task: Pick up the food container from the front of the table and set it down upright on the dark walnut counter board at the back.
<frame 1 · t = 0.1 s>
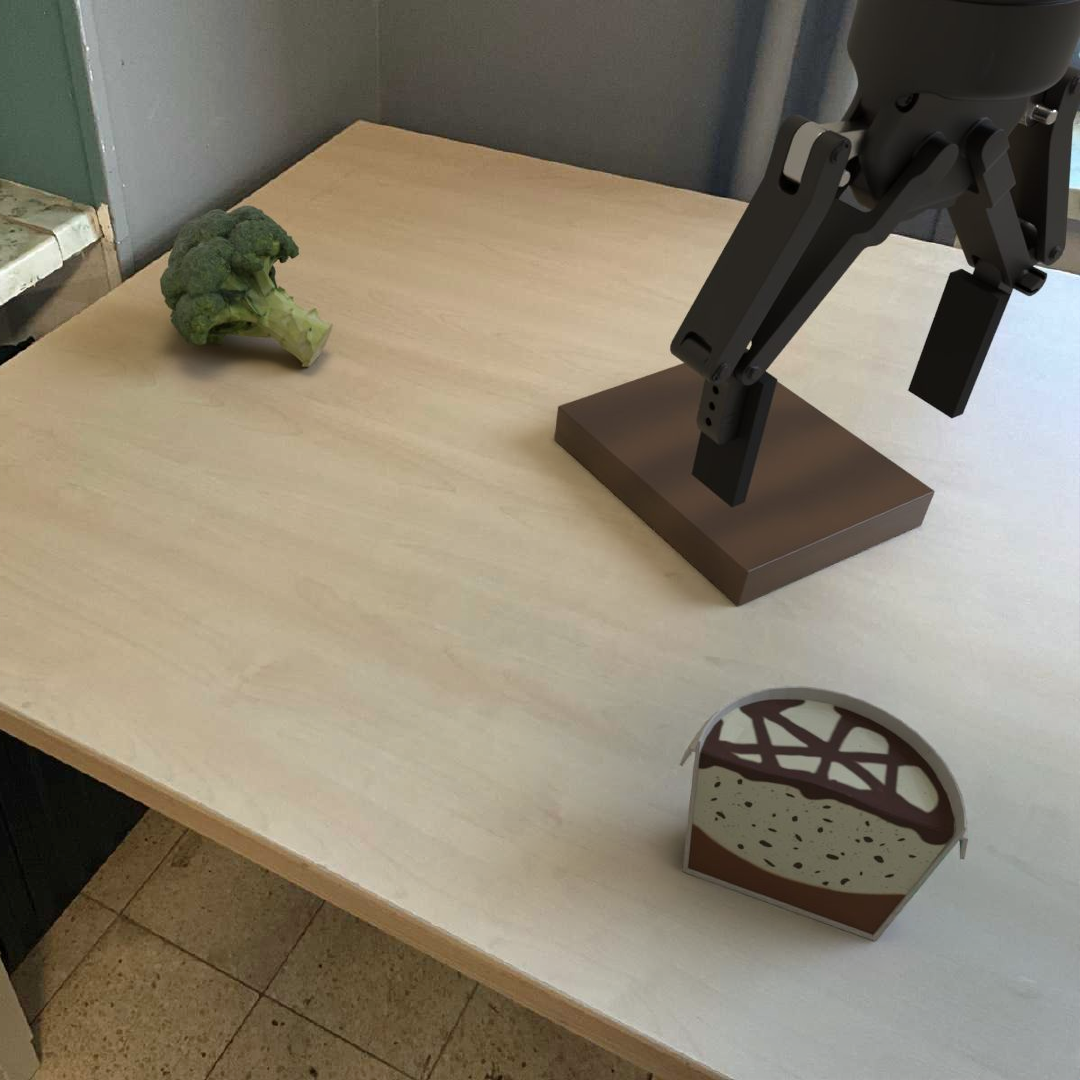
hand: (830, 444, 54), 19 cm above the table, tool pointing down, fingers open, 13 cm apart
food container: (786, 858, 59), on the table
counter board: (728, 480, 82), on the table
vegetable: (254, 345, 97), on the table
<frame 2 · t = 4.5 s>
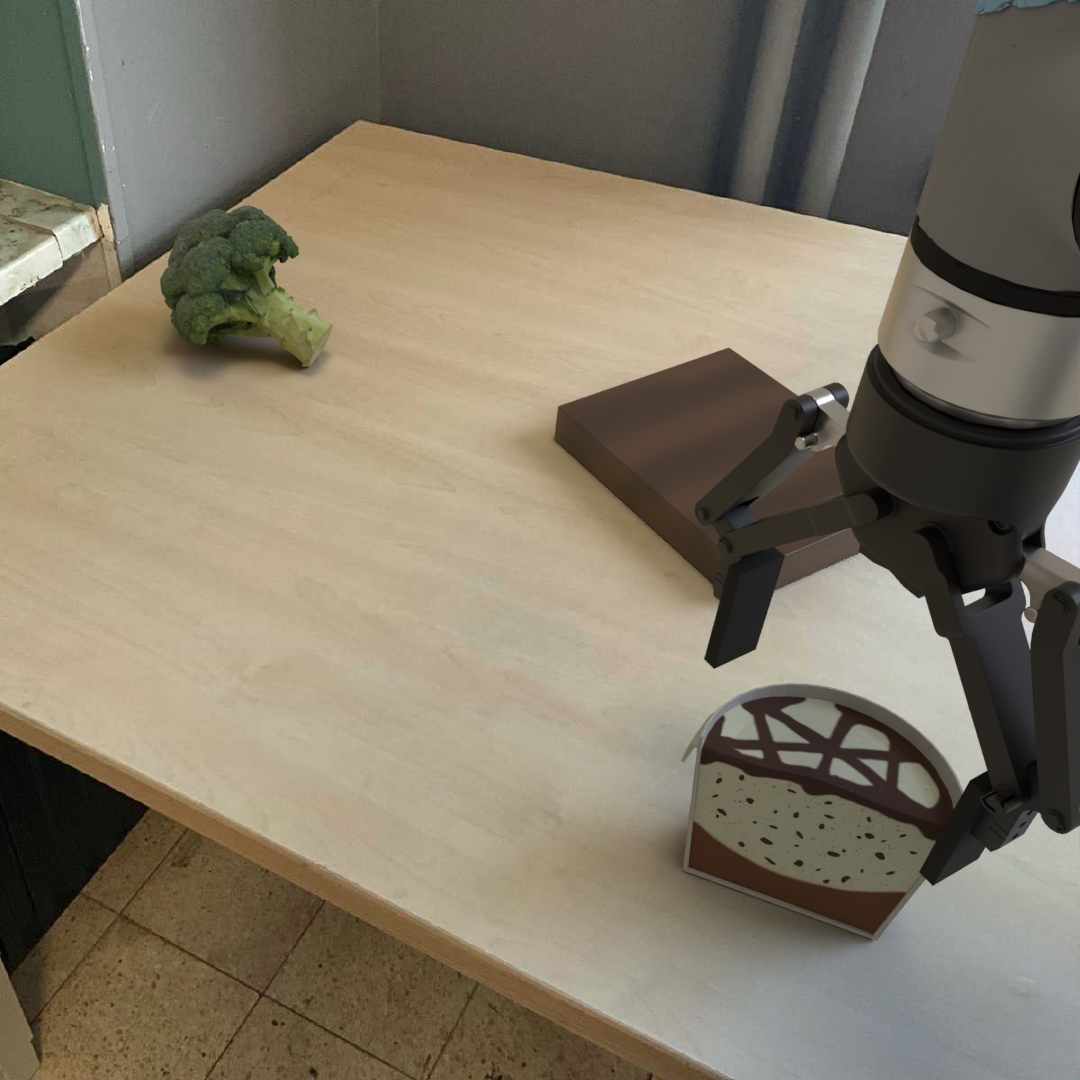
hand: (829, 752, 54), 8 cm above the table, tool pointing down, fingers open, 13 cm apart
food container: (786, 858, 59), on the table, touching gripper
everything else where it was.
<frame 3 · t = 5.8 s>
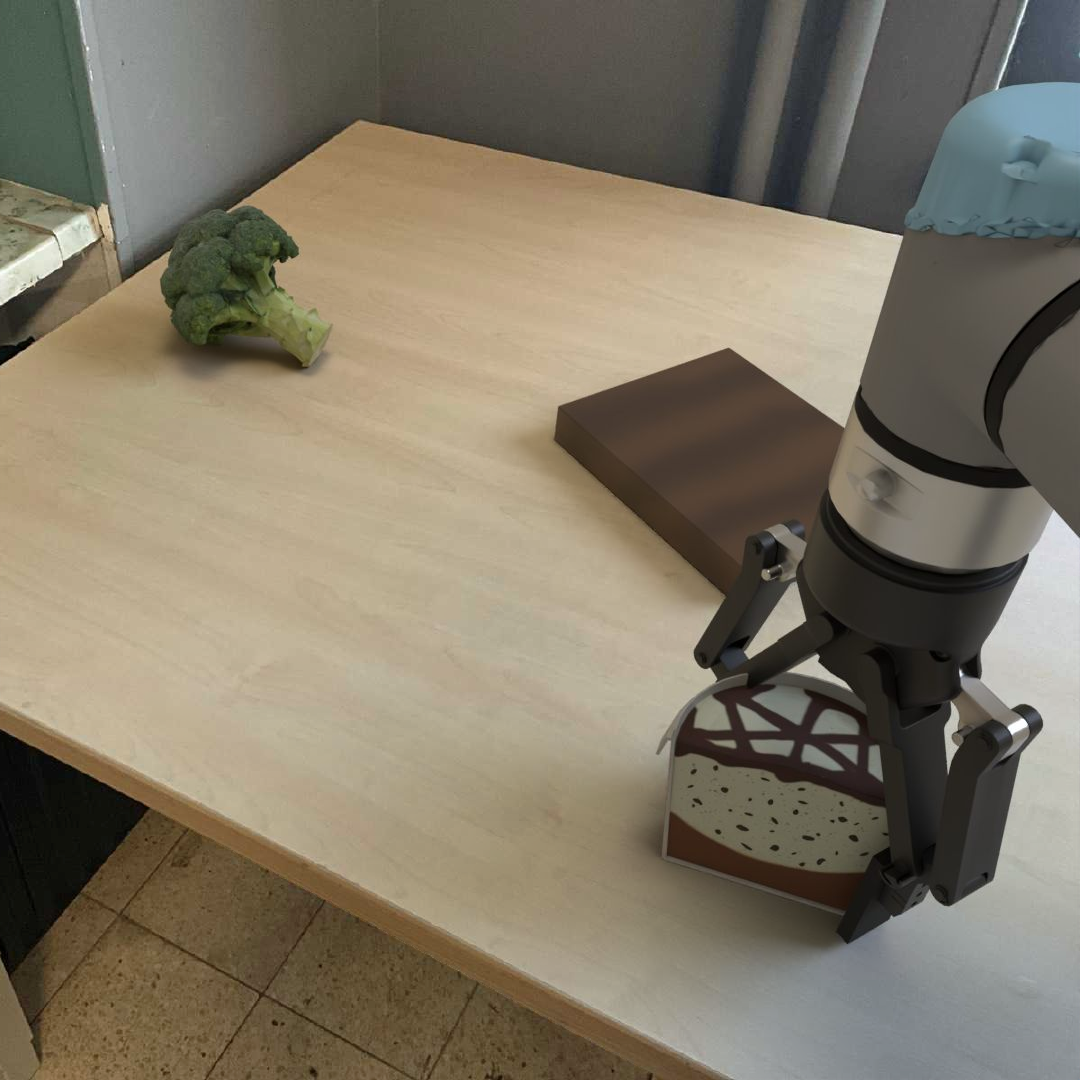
hand: (791, 849, 59), 1 cm above the table, tool pointing down, fingers closed on food container, 9 cm apart
food container: (762, 841, 60), on the table, touching gripper
everything else where it was.
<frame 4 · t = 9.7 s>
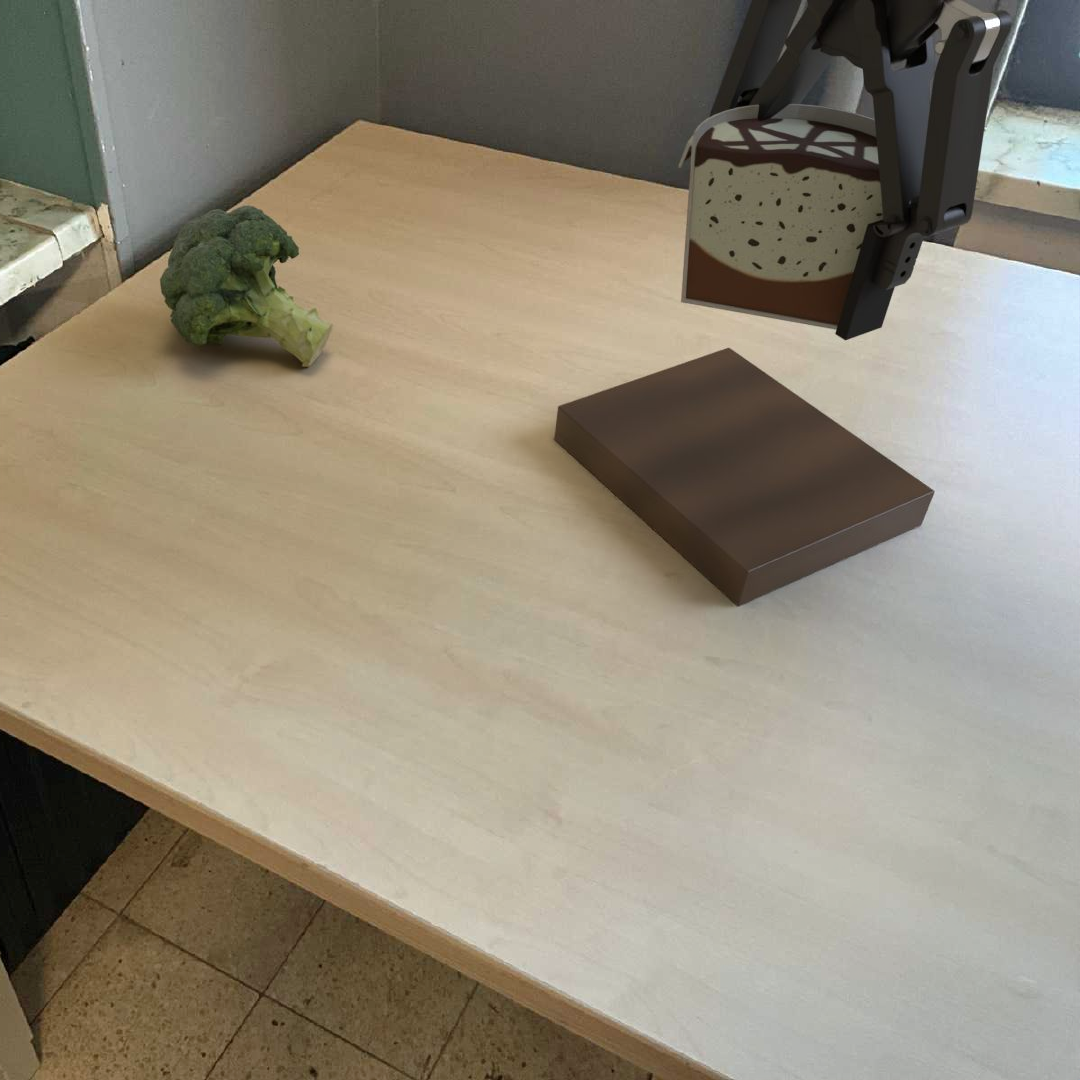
hand: (795, 291, 67), 18 cm above the table, tool pointing down, fingers closed on food container, 9 cm apart
food container: (770, 294, 68), point 17 cm above the table, touching gripper
everything else where it was.
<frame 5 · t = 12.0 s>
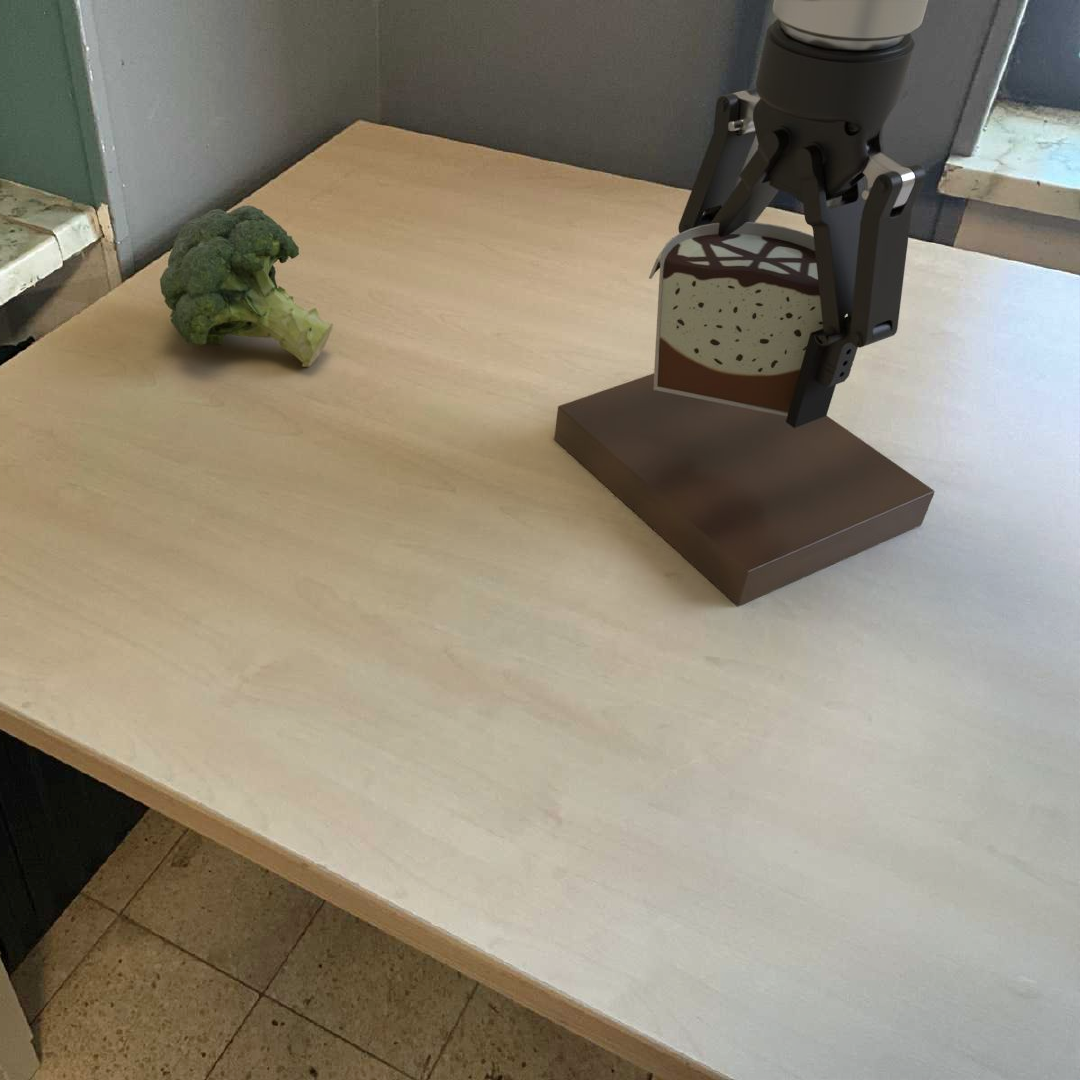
hand: (753, 381, 76), 8 cm above the table, tool pointing down, fingers closed on food container, 9 cm apart
food container: (731, 381, 78), point 8 cm above the table, touching gripper
everything else where it was.
when the fingers open (3 cm above the table, at t = 13.7 s): food container moves 2 cm, resting on counter board.
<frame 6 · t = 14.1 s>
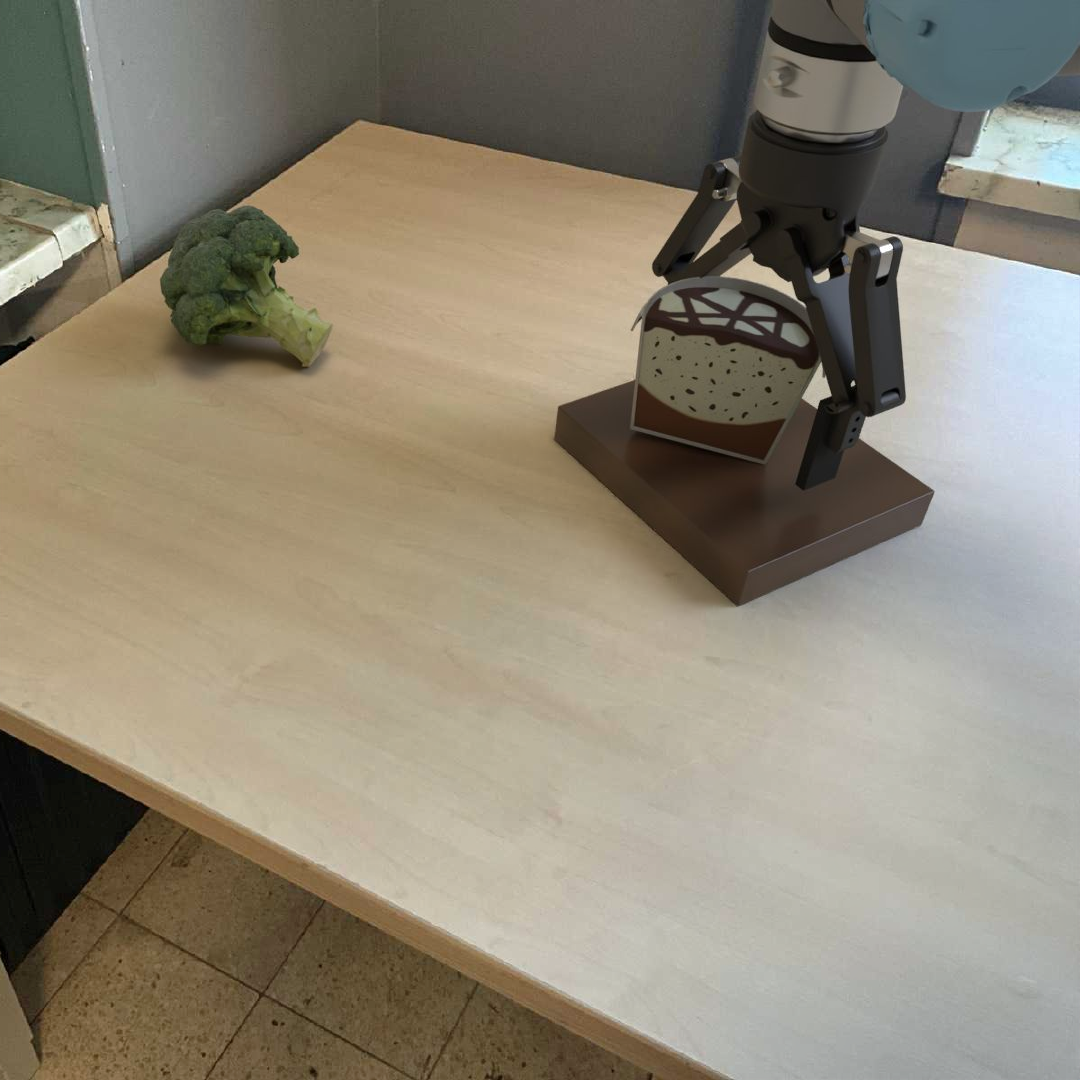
hand: (742, 427, 79), 5 cm above the table, tool pointing down, fingers open, 13 cm apart
food container: (704, 421, 82), point 3 cm above the table, touching counter board, gripper
everything else where it was.
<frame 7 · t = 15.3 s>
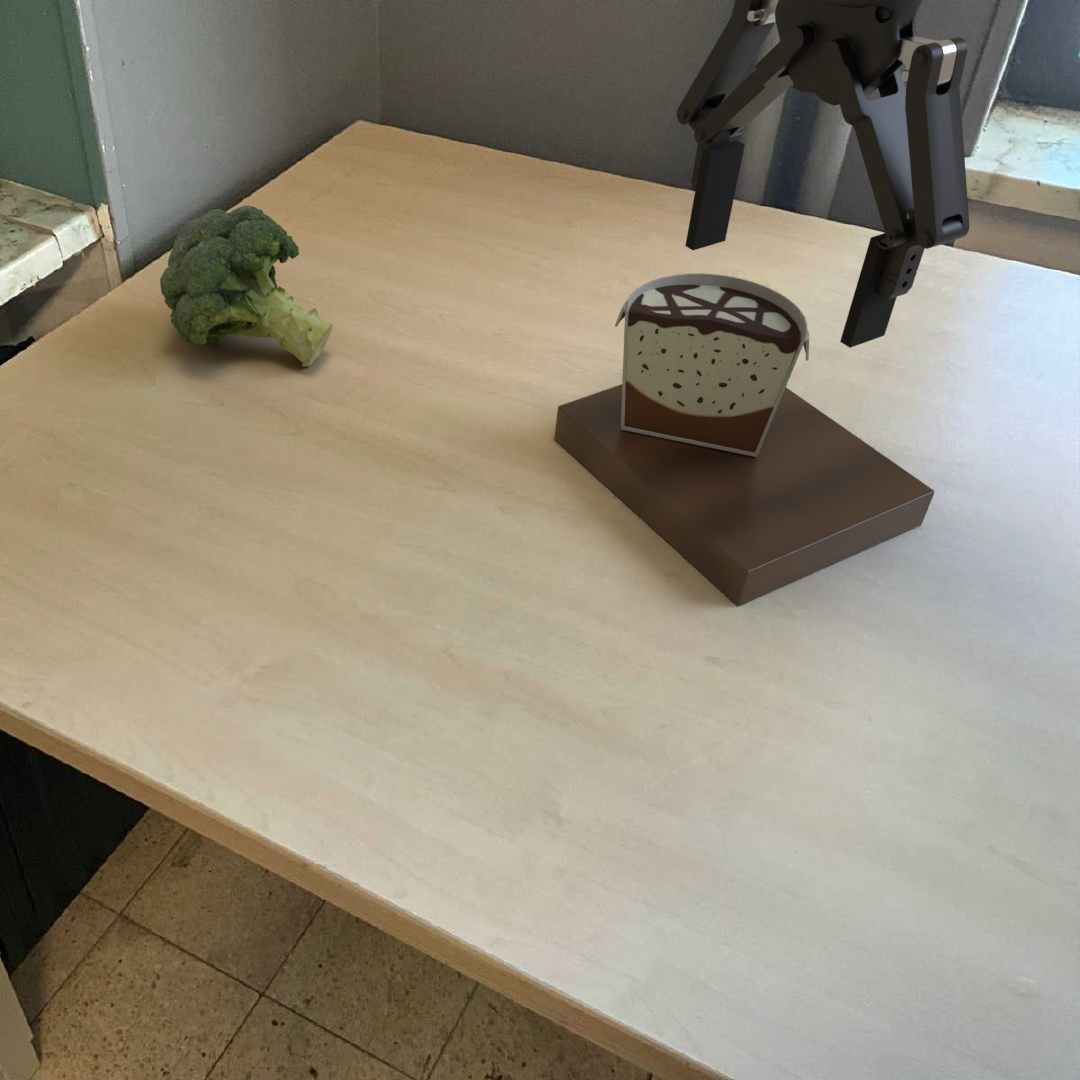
hand: (778, 288, 72), 15 cm above the table, tool pointing down, fingers open, 13 cm apart
food container: (694, 421, 83), point 3 cm above the table, touching counter board
everything else where it was.
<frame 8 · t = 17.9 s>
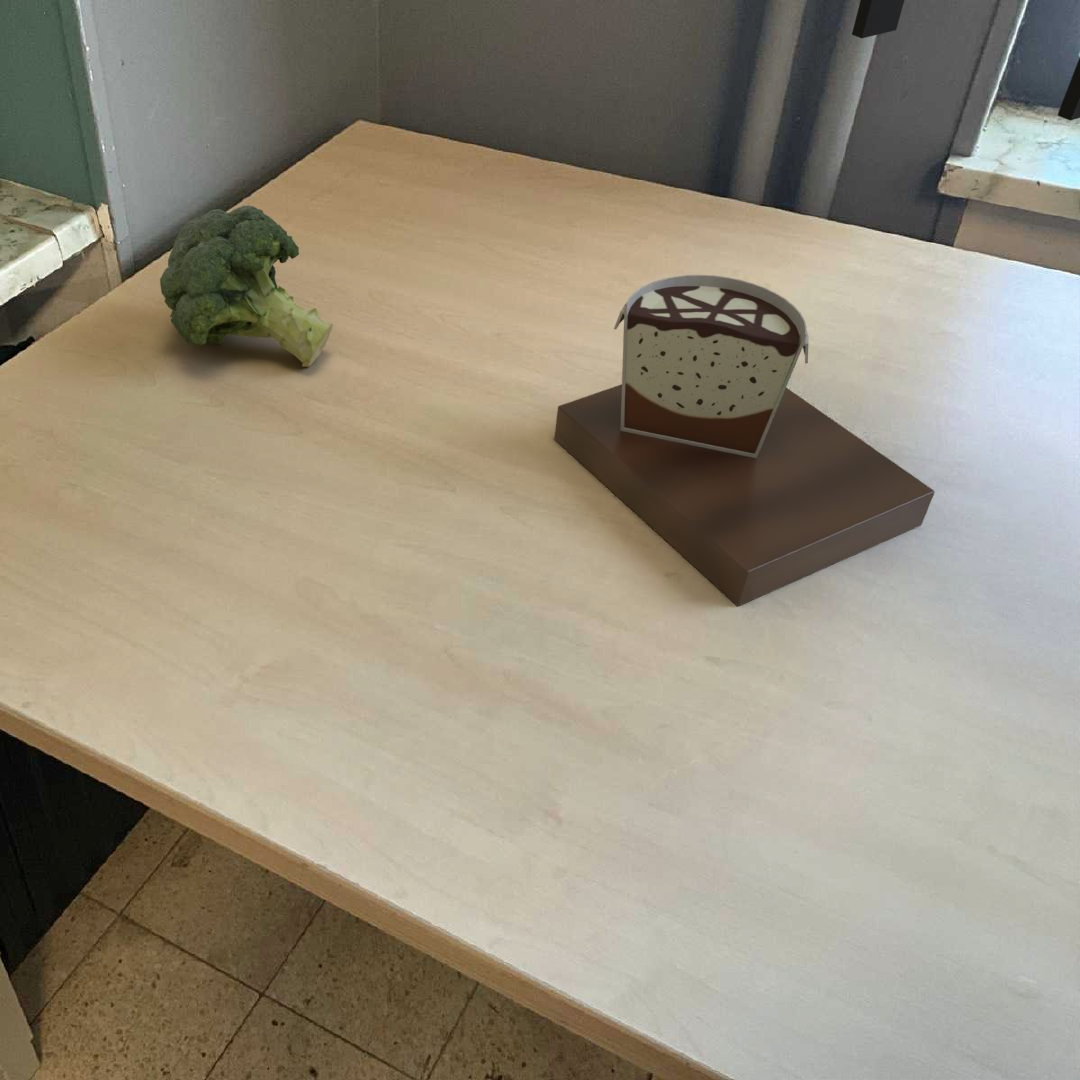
hand: (970, 70, 62), 29 cm above the table, tool pointing down, fingers open, 13 cm apart
nothing on the table moved.
at the end: food container inside the target area on the counter board (3.8 cm from its centre), point 2.8 cm above the counter board's base; food container tilted 0° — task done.
